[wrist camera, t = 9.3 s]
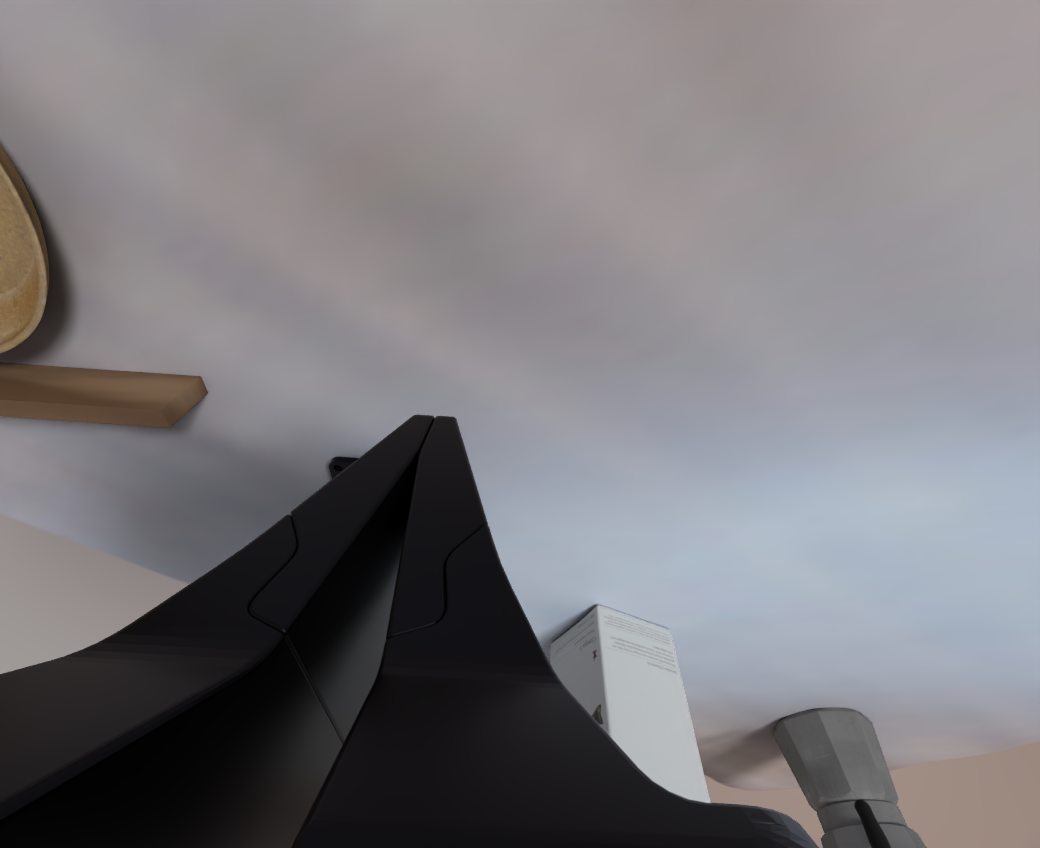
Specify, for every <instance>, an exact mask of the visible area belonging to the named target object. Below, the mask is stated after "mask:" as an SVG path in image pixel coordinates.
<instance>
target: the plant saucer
mask: <svg viewBox="0 0 1040 848" xmlns="http://www.w3.org/2000/svg"><path fill="white" fill-rule="evenodd" d="M48 287H49V263H48V254H47V248H46V243H45V239H44V235H43V231H42V227H41V224H40V221H39V218H38V215H37V212H36V210H35V207H34V205H33V202H32V200H31V198H30V196H29V193H28V191H27V189H26V187H25V185H24V183H23V181H22V179H21V177H20V175H19V174H18V172H17V170H16V168H15V167H14V165H13V163H12V162H11V160H10V159H9V157H8V155H7V154H6V152H5V151H4V149H3V148H2V146H1V145H0V353H3V352H5V351H8V350H10V349H12V348H14V347H16V346H18V345H19V344H20V343H22V342H23V341H24V340H26V339H27V338H28V337H29V336H30V335H31V334H32V333H33V331H34V330H35V329H36V327H37V326H38V324H39V322H40V320H41V318H42V315H43V313H44V309H45V305H46V300H47V294H48Z"/></svg>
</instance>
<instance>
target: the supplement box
mask: <svg viewBox="0 0 1040 848" xmlns="http://www.w3.org/2000/svg"><path fill="white" fill-rule="evenodd" d="M550 664H551V666H552V668H553V669H554V671H555V673H556V674H557V676H558V677H559V679H560V680H561V682H562V683H563V685H564V686H565V687H566V688H567V689H568V690H569V692H570V693H571V694H572V695H573V696H574V697H575V698H576V699H577V700H578V702H579V703H580V704H581V705H582V706H583V707H584V708H585V709H586V710H587V711H588V713H589V714H590V715H591V716H592V717H593V718H594V719H595V720H596V721H597V722H598V724H599V725H600V726H601V727H602V728H603V729H604V730H605V731H606V732H607V733H608V735H609V736H610V737H611V738H612V739H613V740H614V741H615V742H616V743H617V744H618V746H619V747H620V748H621V749H622V750H623V751H624V752H625V753H626V754H627V756H628V757H629V758H630V759H631V760H632V761H633V762H634V763H635V764H636V765H637V767H638V768H639V769H640V770H641V771H642V772H644V773H645V774H646V775H647V776H648V777H649V778H650V779H651V780H652V781H654V782H655V783H657V784H658V785H660V786H662V787H663V788H665V789H666V790H668V791H669V792H672V793H674V794H677V795H679V796H682V797H684V798H686V799H689V800H695V801H700V802H706V803H711V802H710V798H709V794H708V790H707V785H706V781H705V777H704V772H703V768H702V763H701V759H700V755H699V751H698V746H697V742H696V738H695V733H694V729H693V725H692V720H691V716H690V712H689V707H688V703H687V699H686V695H685V690H684V686H683V682H682V677H681V673H680V669H679V664H678V660H677V656H676V651H675V647H674V643H673V638H672V634H671V631H670V630H668V629H666V628H663V627H660V626H658V625H655V624H652V623H649V622H647V621H644V620H641V619H638V618H635V617H633V616H630V615H627V614H624V613H621V612H618V611H615V610H613V609H610V608H607V607H604V606H601V605H597V606H596V607H595V608H594V609H593V610H592V611H591V612H590V613H589V614H588V615H586V616H585V617H584V618H583V619H582V620H581V621H579V622H578V623H577V624H576V625H575V626H573V627H572V628H571V629H570V630H568V631H567V632H566V633H565V634H563V635H562V636H561V637H560V638H558V639H557V640H555V641H554V642H553V643H551V645H550Z"/></svg>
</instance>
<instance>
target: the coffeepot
mask: <svg viewBox="0 0 1040 848" xmlns="http://www.w3.org/2000/svg"><path fill="white" fill-rule="evenodd" d="M773 736H774V738H775V740H776V742H777V743H778V745H779V747H780V749H781V751H782V753H783V755H784V757H785V759H786V761H787V763H788V765H789V767H790V768H791V770H792V772H793V774H794V776H795V778H796V780H797V782H798V784H799V786H800V788H801V790H802V792H803V793H804V795H805V797H806V799H807V801H808V803H809V805H810V806H811V807H812V808H813V809H814V810H815V811H816V812H817V815H818V818H819V820H820V823H821V825H822V828H823V830H824V833H825V834H824V835H823V836H822V838H821V841H822V845H823V848H926V846H925V845H924V843H923V841H922V840H921V838H920V837H919V835H918V834H917V833H916V832H915V831H913V830H912V829H910V828H908V826H907V824H906V822H905V820H904V818H903V816H902V814H901V812H900V809H899V807H898V806H897V805H896V804H897V802H898V796H897V793H896V790H895V787H894V784H893V782H892V779H891V776H890V773H889V770H888V767H887V764H886V761H885V759H884V756H883V753H882V750H881V747H880V744H879V741H878V738H877V736H876V733H875V730H874V727H873V724H872V722H871V721H870V720H868V719H867V718H866V717H865V716H864V715H863V714H862V713H860V712H858V711H855V710H851V709H845V708H819V709H812V710H806V711H802V712H798V713H795V714H792V715H790V716H788V717H785V718H784V719H782V720H781V721H779V722H778V723H777V724H776V726H775V731H774V733H773Z"/></svg>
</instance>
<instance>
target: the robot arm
mask: <svg viewBox="0 0 1040 848" xmlns="http://www.w3.org/2000/svg"><path fill="white" fill-rule="evenodd" d="M338 465H340V466H338ZM329 468H330V472H331V476H332V480H331V481H330V482H328V483H327V484H326V485H324V486H323V487H322V488H321V489H319V490H318V491H317V492H316V493H314V494H313V495H312V496H310V497H309V498H308V499H307V500H305V501H304V502H303V503H302V504H300V505H299V506H298V507H296V508H295V509H294V510H293V511H291V515H286V516H285V517H283V518H282V519H281V520H280V521H278V522H277V523H276V524H275V525H273V526H272V527H271V528H269V529H268V530H267V531H265V532H264V533H263V534H261V535H260V536H259V537H257V538H256V539H255V540H253V541H252V542H251V543H249V544H248V545H247V546H245V547H244V548H243V549H241V550H240V551H238V552H237V553H235V554H234V555H233V556H231V557H230V558H228V559H227V560H225V561H224V562H222V563H221V564H219V565H218V566H217V567H215V568H214V569H212V570H211V571H209V572H208V573H206V574H205V575H203V576H202V577H200V578H199V579H197V580H196V581H194V582H193V583H191V584H190V585H188V586H187V587H185V588H184V589H182V590H181V591H179V592H178V593H176V594H175V595H173V596H172V597H170V598H169V599H167V600H166V601H164V602H163V603H161V604H160V605H158V606H157V607H155V608H154V609H152V610H150V611H149V612H147V613H146V614H144V615H143V616H142V617H140V618H139V619H137V620H136V621H134V622H132V623H131V624H129V625H128V626H126V627H124V628H123V629H122V630H120V631H118V632H117V633H115V634H113V635H111V636H109V637H107V638H105V639H104V640H102V641H100V642H98V643H96V644H94V645H91V646H89V647H87V648H85V649H83V650H80V651H78V652H75V653H72V654H70V655H67V656H64V657H61V658H57V659H54V660H51V661H47V662H44V663H40V664H36V665H33V666H29V667H25V668H22V669H18V670H14V671H11V672H7V673H3V674H0V848H819V847H818V846H817V845H816V843H815V842H814V841H813V840H812V839H811V837H810V836H809V835H808V834H807V833H806V831H805V830H804V829H803V828H802V827H801V825H800V824H799V823H798V822H796V821H795V820H793V819H792V818H790V817H789V816H787V815H785V814H783V813H780V812H777V811H775V810H771V809H767V808H762V807H757V806H748V805H737V804H720V803H706V802H700V801H695V800H689V799H686V798H684V797H682V796H679V795H677V794H674V793H672V792H669V791H668V790H666V789H665V788H663V787H662V786H660V785H658V784H657V783H655V782H654V781H652V780H651V779H650V778H649V777H648V776H647V775H646V774H645V773H644V772H642V771H641V770H640V769H639V768H638V767H637V765H636V764H635V763H634V762H633V761H632V760H631V759H630V758H629V757H628V756H627V754H626V753H625V752H624V751H623V750H622V749H621V748H620V747H619V746H618V744H617V743H616V742H615V741H614V740H613V739H612V738H611V737H610V736H609V735H608V733H607V732H606V731H605V730H604V729H603V728H602V727H601V726H600V725H599V724H598V722H597V721H596V720H595V719H594V718H593V717H592V716H591V715H590V714H589V713H588V711H587V710H586V709H585V708H584V707H583V706H582V705H581V704H580V703H579V702H578V700H577V699H576V698H575V697H574V696H573V695H572V694H571V693H570V692H569V690H568V689H567V688H566V687H565V686H564V685H563V683H562V682H561V680H560V679H559V677H558V676H557V674H556V673H555V671H554V669H553V668H552V666H551V664H550V662H549V661H548V659H547V657H546V655H545V653H544V651H543V650H542V648H541V646H540V644H539V642H538V640H537V638H536V636H535V634H534V632H533V630H532V628H531V625H530V623H529V621H528V619H527V617H526V615H525V613H524V611H523V609H522V607H521V605H520V603H519V601H518V599H517V597H516V595H515V593H514V591H513V589H512V587H511V585H510V582H509V580H508V578H507V576H506V573H505V571H504V569H503V567H502V564H501V562H500V559H499V556H498V553H497V550H496V547H495V545H494V542H493V539H492V535H491V532H490V529H489V526H488V523H487V519H486V516H485V513H484V509H483V506H482V503H481V499H480V496H479V493H478V490H477V486H476V483H475V480H474V476H473V473H472V470H471V466H470V463H469V460H468V456H467V453H466V450H465V446H464V443H463V440H462V437H461V433H460V430H459V427H458V423H457V420H456V418H455V417H449V416H437V417H435V418H434V416H430V415H414V416H412V417H411V418H410V419H408V420H407V421H406V422H405V423H403V424H402V425H401V426H400V427H398V428H397V429H396V430H394V431H393V432H392V433H391V434H389V435H388V436H387V437H386V438H384V439H383V440H382V441H380V442H379V443H378V444H377V445H375V446H374V447H373V448H372V449H370V450H369V451H368V452H366V453H365V454H364V455H363V456H361V457H360V458H348V457H335V458H333V459H332V461H331V463H330V465H329Z"/></svg>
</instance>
